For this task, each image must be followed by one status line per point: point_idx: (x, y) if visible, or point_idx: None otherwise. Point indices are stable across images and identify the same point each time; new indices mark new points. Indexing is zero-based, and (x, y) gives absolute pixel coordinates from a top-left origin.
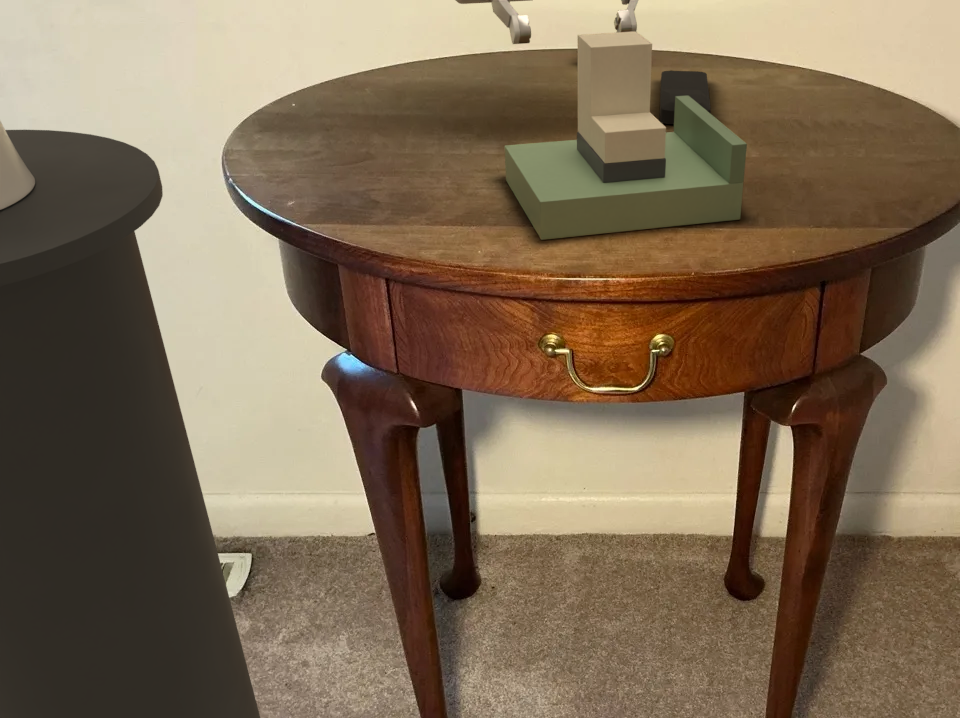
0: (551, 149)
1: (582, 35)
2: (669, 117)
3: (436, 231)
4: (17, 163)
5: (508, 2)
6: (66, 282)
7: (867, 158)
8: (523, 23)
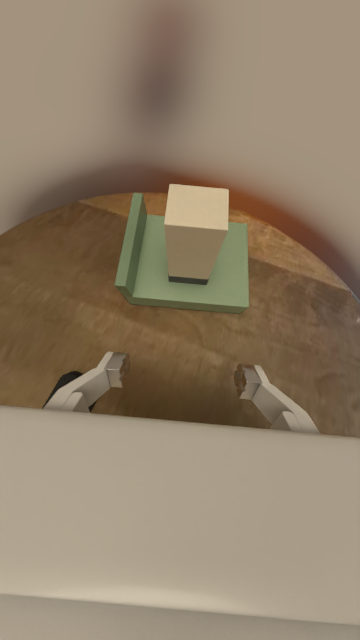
0: (221, 290)
1: (224, 224)
2: None
3: (284, 262)
4: None
5: (282, 400)
6: None
7: (22, 279)
8: (251, 372)
